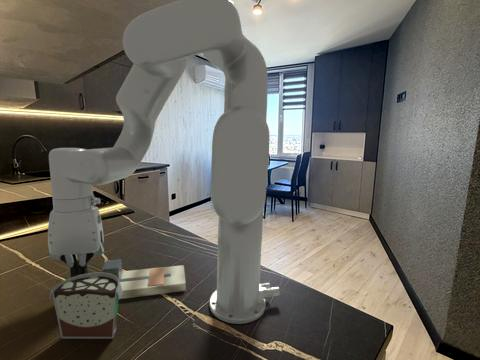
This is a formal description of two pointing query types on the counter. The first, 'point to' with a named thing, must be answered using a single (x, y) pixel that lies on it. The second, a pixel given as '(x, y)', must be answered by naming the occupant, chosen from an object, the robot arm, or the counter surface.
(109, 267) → the fader tab
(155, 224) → the counter surface
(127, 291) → the fader console
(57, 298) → the food container
